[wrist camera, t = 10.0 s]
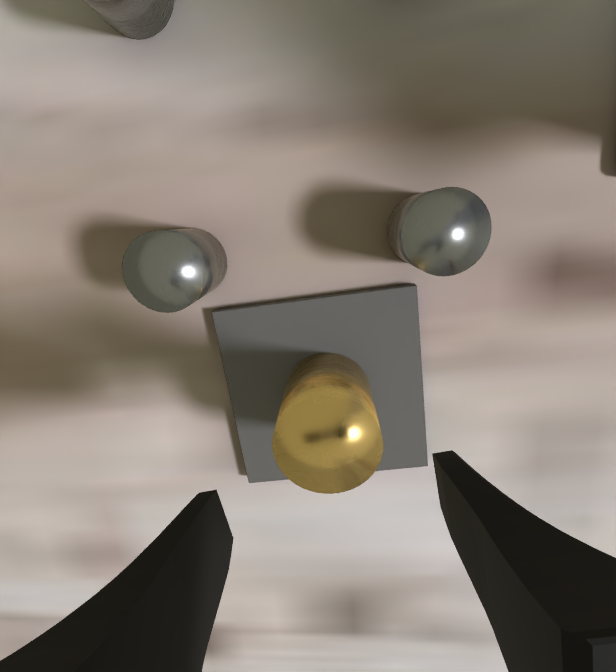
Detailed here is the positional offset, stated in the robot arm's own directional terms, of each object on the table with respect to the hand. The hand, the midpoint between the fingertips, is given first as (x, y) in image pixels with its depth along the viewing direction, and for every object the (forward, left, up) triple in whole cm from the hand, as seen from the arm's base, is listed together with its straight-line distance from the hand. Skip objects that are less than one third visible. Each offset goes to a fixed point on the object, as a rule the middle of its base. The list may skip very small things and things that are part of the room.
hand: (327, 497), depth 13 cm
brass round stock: (0, 0, -8) cm, 8 cm away
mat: (0, 0, -9) cm, 9 cm away
